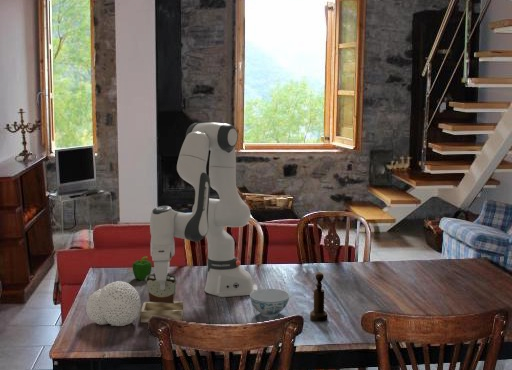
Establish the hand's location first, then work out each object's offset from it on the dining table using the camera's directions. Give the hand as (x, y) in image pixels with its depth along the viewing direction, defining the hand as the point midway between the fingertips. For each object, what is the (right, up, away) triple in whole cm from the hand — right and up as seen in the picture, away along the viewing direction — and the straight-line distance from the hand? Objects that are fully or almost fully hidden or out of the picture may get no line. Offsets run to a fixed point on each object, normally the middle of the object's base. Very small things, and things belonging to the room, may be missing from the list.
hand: (163, 286), depth 258 cm
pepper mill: (+58, -13, 0) cm, 60 cm away
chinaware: (+40, -12, +5) cm, 42 cm away
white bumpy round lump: (-17, -13, -6) cm, 23 cm away
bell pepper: (-16, -4, +49) cm, 52 cm away
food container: (0, -6, +2) cm, 6 cm away
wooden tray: (-1, -12, +2) cm, 12 cm away
